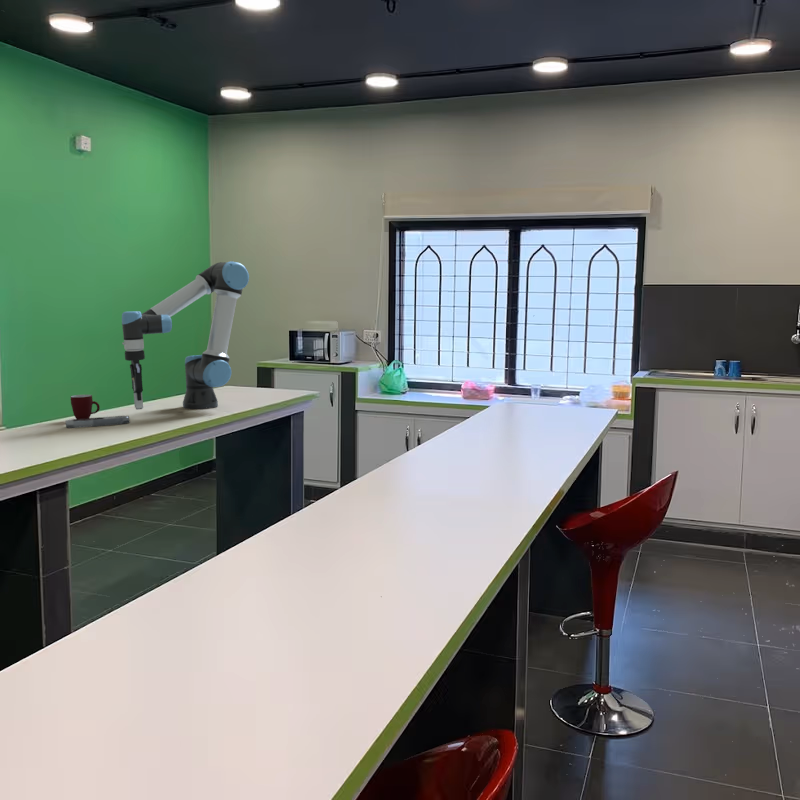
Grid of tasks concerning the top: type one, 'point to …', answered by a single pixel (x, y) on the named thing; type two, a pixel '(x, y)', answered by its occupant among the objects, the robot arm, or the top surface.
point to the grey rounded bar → (97, 421)
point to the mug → (83, 406)
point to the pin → (134, 393)
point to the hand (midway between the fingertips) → (139, 407)
